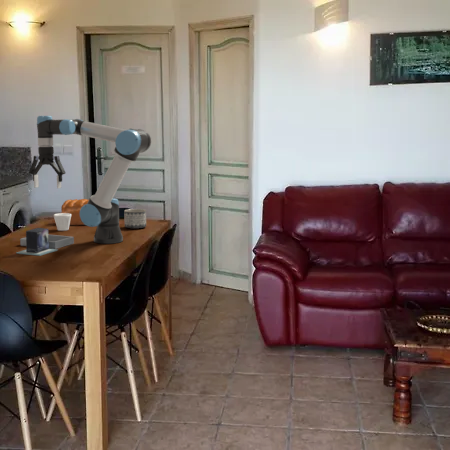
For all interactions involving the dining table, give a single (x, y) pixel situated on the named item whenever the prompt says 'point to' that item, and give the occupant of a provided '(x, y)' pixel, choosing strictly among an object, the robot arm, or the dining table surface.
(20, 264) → the dining table surface
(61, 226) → the cup
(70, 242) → the bin
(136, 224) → the planter
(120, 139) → the robot arm
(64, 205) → the bread
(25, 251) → the pad
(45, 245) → the small box
